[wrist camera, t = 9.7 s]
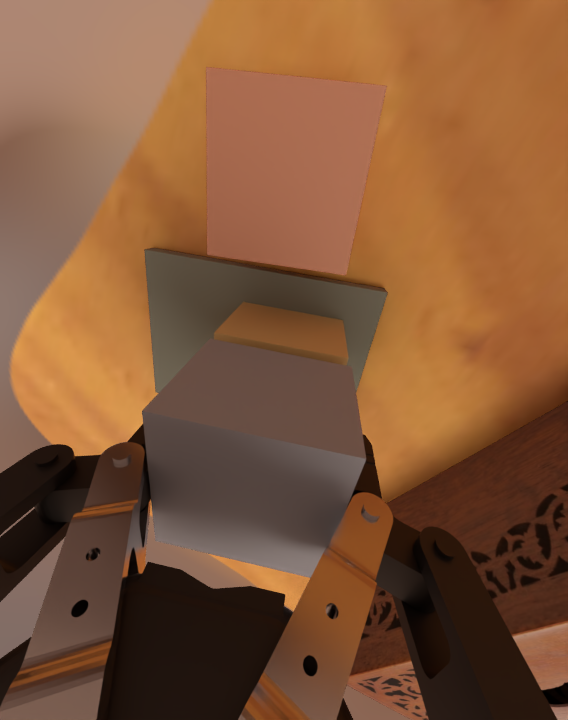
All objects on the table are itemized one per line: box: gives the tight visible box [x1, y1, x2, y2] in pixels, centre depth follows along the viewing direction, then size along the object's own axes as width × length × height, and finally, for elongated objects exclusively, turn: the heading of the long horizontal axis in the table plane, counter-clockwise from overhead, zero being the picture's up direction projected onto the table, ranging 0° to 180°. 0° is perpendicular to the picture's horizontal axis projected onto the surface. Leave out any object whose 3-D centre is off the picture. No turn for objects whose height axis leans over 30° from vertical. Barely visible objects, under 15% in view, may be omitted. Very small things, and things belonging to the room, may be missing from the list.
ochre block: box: [214, 302, 348, 365], centre depth 16 cm, size 6×6×5 cm
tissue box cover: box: [347, 401, 568, 720], centre depth 19 cm, size 26×14×10 cm, turn 141°
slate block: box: [142, 339, 366, 578], centre depth 11 cm, size 6×6×5 cm
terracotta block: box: [206, 67, 387, 275], centre depth 13 cm, size 6×6×5 cm
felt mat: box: [145, 248, 388, 393], centre depth 19 cm, size 10×14×1 cm
